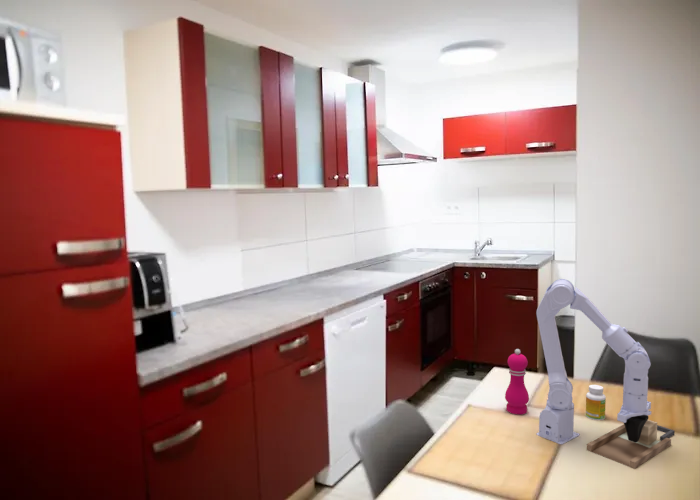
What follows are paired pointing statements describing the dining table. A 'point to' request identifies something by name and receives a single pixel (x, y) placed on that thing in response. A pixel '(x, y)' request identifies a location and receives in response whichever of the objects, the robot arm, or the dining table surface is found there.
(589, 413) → the supplement bottle
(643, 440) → the maple block
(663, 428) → the tray
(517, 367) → the pepper mill
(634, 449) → the walled channel
